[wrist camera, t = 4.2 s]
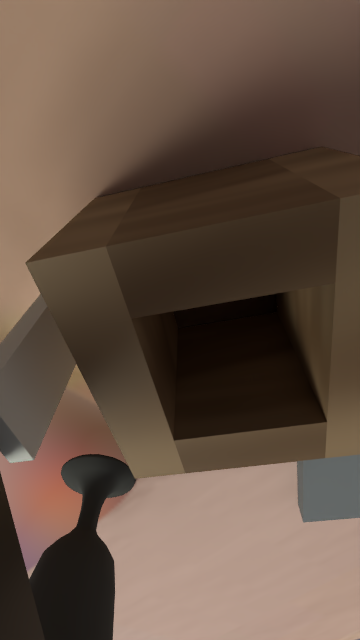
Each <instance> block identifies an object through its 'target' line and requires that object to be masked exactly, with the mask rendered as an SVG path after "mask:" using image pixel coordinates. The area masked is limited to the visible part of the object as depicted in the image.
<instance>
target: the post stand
mask: <svg viewBox="0 0 360 640" xmlns="http://www.w3.org/2000/svg"><path fill="white" fill-rule="evenodd" d="M297 474H298V506H299V509H300V513H301V516H302V520H303V522H313V521H325V520H337V519H349V518H360V455H351V456H341V457H332V458H323V459H313V460H304V461H297Z"/></svg>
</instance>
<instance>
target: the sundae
mask: <svg viewBox="0 0 360 640" xmlns="http://www.w3.org/2000/svg"><path fill="white" fill-rule="evenodd" d="M61 475H62V478H63V480H64V482H65V483H66V485H67V486H68V487H69V488H71V489H72V490H74V491H76V492H78V493H80V494H82V495H83V499H82V507H81V512H80V516H79V520H78V524H77V526H76V527H75V528H74V529H73V530H72V531H71V532H70V533H68V534H67V535H65V536H63V537H61V538H60V539H58V540H57V541H56V542H55V543H53V544H52V545H51V546H50V547H48V548H47V549H46V550H45V551H44V553H43V554H42V556H41V558H40V560H39V562H38V563H37V565H36V567H35V569H34V571H33V573H32V575H31V577H30V579H29V582H30V585H31V589H32V593H33V597H34V600H35V604H36V608H37V612H38V615H39V619H40V623H41V626H42V630H43V634H44V638H45V640H113V620H114V600H115V573H114V560H113V558H112V556H111V554H110V552H109V550H108V548H107V546H106V544H105V543H104V542H103V541H102V540H101V539H100V538H99V536H98V535H97V532H96V528H97V523H98V518H99V514H100V510H101V507H102V505H103V503H104V501H105V499H106V498H112V497H117V496H120V495H124V494H125V493H127V492H128V491H130V490H131V489H132V487H133V486H134V484H135V481H136V479H135V478H134V476H133V474H132V472H131V470H130V468H129V466H127V465H126V464H125V463H124V462H122V461H120V460H118V459H116V458H113V457H109V456H104V455H99V454H88V455H81V456H78V457H75V458H72V459H71V460H69V461H68V462H66V463H65V464H64V465H63V467H62V470H61Z"/></svg>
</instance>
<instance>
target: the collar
mask: <svg viewBox="0 0 360 640" xmlns="http://www.w3.org/2000/svg"><path fill="white" fill-rule="evenodd" d="M26 265H27V267H28V269H29V271H30V273H31V275H32V277H33V279H34V281H35V283H36V285H37V287H38V289H39V291H40V293H41V295H42V297H43V299H44V301H45V303H46V305H47V307H48V309H49V311H50V313H51V315H52V316H53V318H54V320H55V322H56V324H57V326H58V328H59V330H60V332H61V334H62V336H63V338H64V340H65V342H66V344H67V346H68V348H69V350H70V352H71V354H72V356H73V358H74V360H75V362H76V364H77V366H78V368H79V370H80V372H81V374H82V376H83V378H84V379H85V381H86V383H87V385H88V387H89V389H90V391H91V393H92V395H93V397H94V399H95V401H96V403H97V405H98V407H99V409H100V411H101V413H102V415H103V417H104V419H105V421H106V423H107V425H108V427H109V429H110V431H111V433H112V434H113V437H114V438H115V440H116V442H117V444H118V446H119V448H120V450H121V452H122V454H123V456H124V458H125V460H126V462H127V464H128V466H129V468H130V470H131V472H132V474H133V476H134V478H135V479H136V478H146V477H155V476H164V475H174V474H183V473H192V472H202V471H211V470H220V469H229V468H239V467H248V466H257V465H267V464H276V463H285V462H295V461H304V460H313V459H323V458H332V457H341V456H351V455H360V156H357V155H353V154H349V153H345V152H341V151H337V150H333V149H329V148H325V147H318V148H314V149H309V150H305V151H301V152H296V153H292V154H287V155H283V156H279V157H274V158H270V159H265V160H261V161H257V162H252V163H248V164H243V165H239V166H235V167H230V168H226V169H221V170H217V171H212V172H208V173H204V174H199V175H195V176H190V177H186V178H182V179H177V180H173V181H168V182H164V183H160V184H155V185H151V186H146V187H142V188H138V189H133V190H129V191H124V192H120V193H115V194H111V195H107V196H102V197H98V198H95V199H94V200H92V201H91V202H90V203H89V204H88V205H87V206H86V207H85V208H84V209H83V210H82V211H81V212H80V213H78V214H77V215H76V216H75V217H74V218H73V219H72V220H71V221H70V222H69V223H68V224H67V225H66V226H65V227H63V228H62V229H61V230H60V231H59V232H58V233H57V234H56V235H55V236H54V237H53V238H52V239H51V240H50V241H48V242H47V243H46V244H45V245H44V246H43V247H42V248H41V249H40V250H39V251H38V252H37V253H36V254H34V255H33V256H32V257H31V258H30V259H29V260H28V261H27V262H26ZM270 294H276V305H277V312H275V313H269V314H263V315H257V316H251V317H245V318H239V319H233V320H227V321H221V322H215V323H209V324H203V325H197V326H191V327H185V328H179V329H178V327H177V323H176V319H175V315H174V312H173V311H178V310H184V309H190V308H196V307H201V306H207V305H213V304H219V303H224V302H230V301H236V300H242V299H247V298H253V297H259V296H265V295H270Z"/></svg>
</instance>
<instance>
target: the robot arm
mask: <svg viewBox="0 0 360 640" xmlns="http://www.w3.org/2000/svg"><path fill="white" fill-rule="evenodd" d="M75 365H76V362H75V360H74V358H73V356H72V354H71V352H70V350H69V348H68V346H67V344H66V342H65V340H64V338H63V336H62V334H61V332H60V330H59V328H58V326H57V324H56V322H55V320H54V318H53V316H52V315H51V313H50V311H49V309H48V307H47V305H46V303H45V301H44V299H43V297H42V295H41V294H40V295H39V297H38V298H37V299H36V300H35V301H34V303H33V304H32V305H31V306H30V308H29V309H28V310H27V311H26V313H25V314H24V315H23V316H22V318H21V319H20V320H19V321H18V323H17V324H16V325H15V326H14V327H13V329H12V330H11V331H10V332H9V334H8V335H7V336H6V337H5V339H4V340H3V341H2V342H1V344H0V451H1V452H2V454H3V455H4V456H5V457H6V459H7V460H8V461H9V462H10V463H14V462H22V461H30V460H34V459H35V456H36V454H37V452H38V450H39V447H40V445H41V443H42V440H43V438H44V436H45V434H46V431H47V429H48V427H49V425H50V422H51V420H52V418H53V415H54V413H55V411H56V409H57V406H58V404H59V402H60V399H61V397H62V395H63V393H64V390H65V388H66V386H67V384H68V381H69V379H70V377H71V374H72V372H73V370H74V368H75ZM0 640H45V638H44V634H43V630H42V626H41V623H40V619H39V615H38V612H37V608H36V604H35V600H34V597H33V593H32V589H31V585H30V582H29V578H28V574H27V570H26V567H25V563H24V559H23V556H22V552H21V548H20V544H19V540H18V537H17V533H16V529H15V525H14V522H13V518H12V514H11V510H10V507H9V503H8V499H7V495H6V492H5V488H4V484H3V481H2V477H1V474H0Z"/></svg>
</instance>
